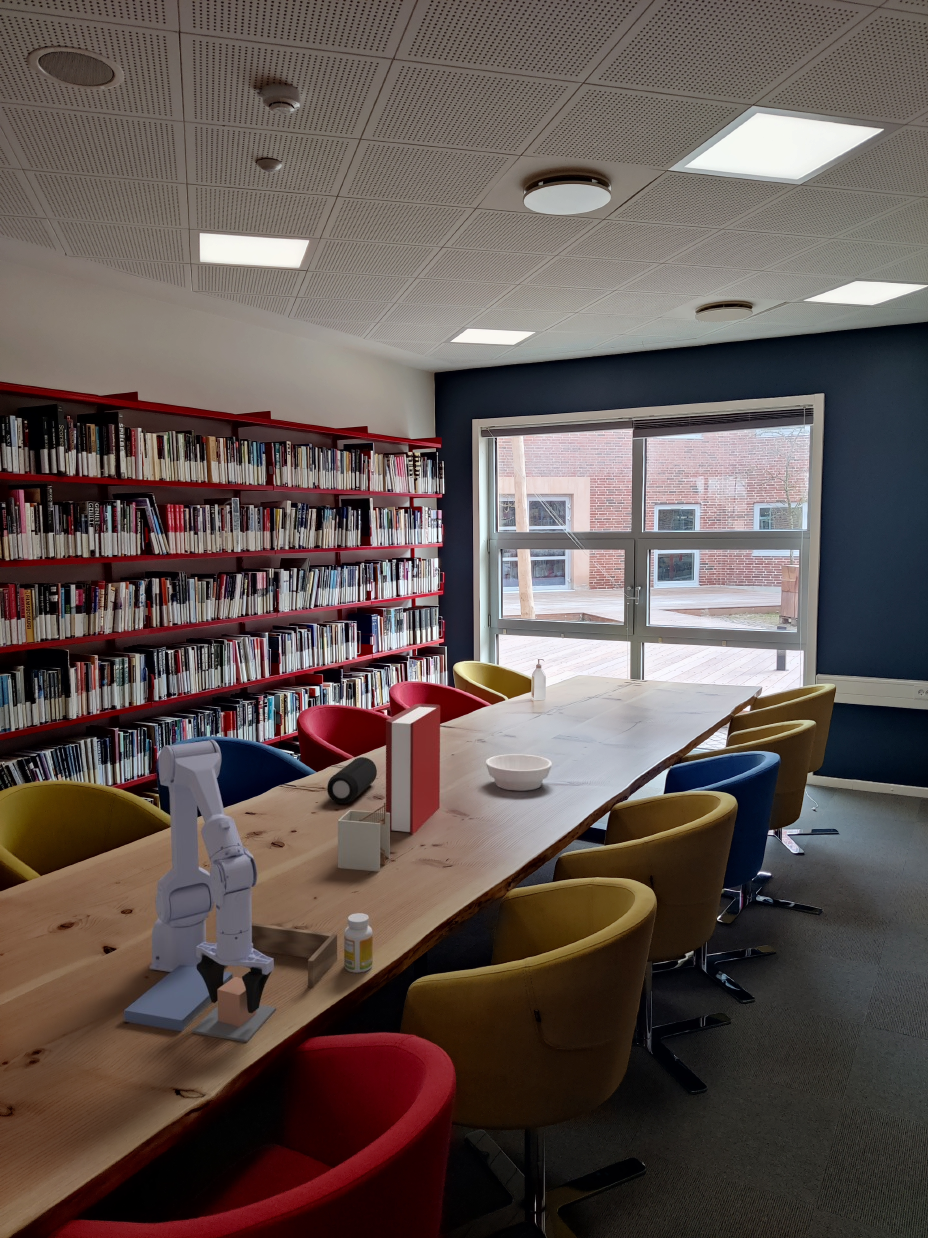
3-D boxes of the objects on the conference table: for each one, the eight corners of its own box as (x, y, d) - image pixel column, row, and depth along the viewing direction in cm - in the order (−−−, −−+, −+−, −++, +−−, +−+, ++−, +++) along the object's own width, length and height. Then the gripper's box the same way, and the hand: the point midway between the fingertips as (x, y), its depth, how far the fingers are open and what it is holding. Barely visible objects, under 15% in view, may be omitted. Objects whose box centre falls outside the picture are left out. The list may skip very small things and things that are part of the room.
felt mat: (192, 1033, 138) (192, 1030, 138) (224, 1001, 147) (224, 999, 147) (247, 1042, 135) (247, 1040, 135) (276, 1010, 145) (276, 1007, 145)
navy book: (182, 1035, 138) (182, 1020, 138) (124, 1024, 141) (124, 1010, 141) (232, 986, 153) (232, 973, 153) (179, 977, 156) (179, 965, 156)
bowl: (519, 773, 300) (520, 751, 299) (565, 788, 282) (566, 763, 282) (471, 784, 285) (471, 760, 285) (516, 800, 268) (517, 774, 267)
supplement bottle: (373, 959, 163) (373, 911, 162) (371, 973, 157) (371, 923, 157) (345, 959, 163) (345, 911, 162) (342, 973, 157) (342, 923, 156)
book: (412, 835, 234) (413, 722, 231) (385, 832, 236) (386, 720, 234) (440, 806, 260) (441, 705, 258) (416, 804, 262) (416, 703, 260)
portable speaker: (351, 783, 286) (351, 754, 285) (379, 785, 284) (379, 756, 283) (324, 805, 261) (324, 774, 260) (355, 807, 259) (355, 776, 258)
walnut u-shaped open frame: (215, 972, 157) (214, 947, 157) (244, 946, 168) (244, 922, 167) (313, 987, 152) (313, 961, 152) (337, 959, 163) (337, 934, 162)
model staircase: (380, 873, 207) (380, 808, 206) (338, 869, 210) (337, 804, 208) (390, 860, 216) (390, 797, 215) (349, 857, 218) (349, 794, 217)
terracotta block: (217, 1020, 140) (217, 989, 140) (235, 1007, 145) (234, 977, 144) (239, 1027, 139) (239, 995, 138) (256, 1013, 143) (256, 982, 142)
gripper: (284, 925, 141) (285, 1002, 142) (214, 910, 146) (216, 984, 147) (258, 943, 134) (259, 1024, 135) (186, 926, 140) (188, 1004, 141)
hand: (235, 1005), depth 141 cm, fingers open, 7 cm apart
